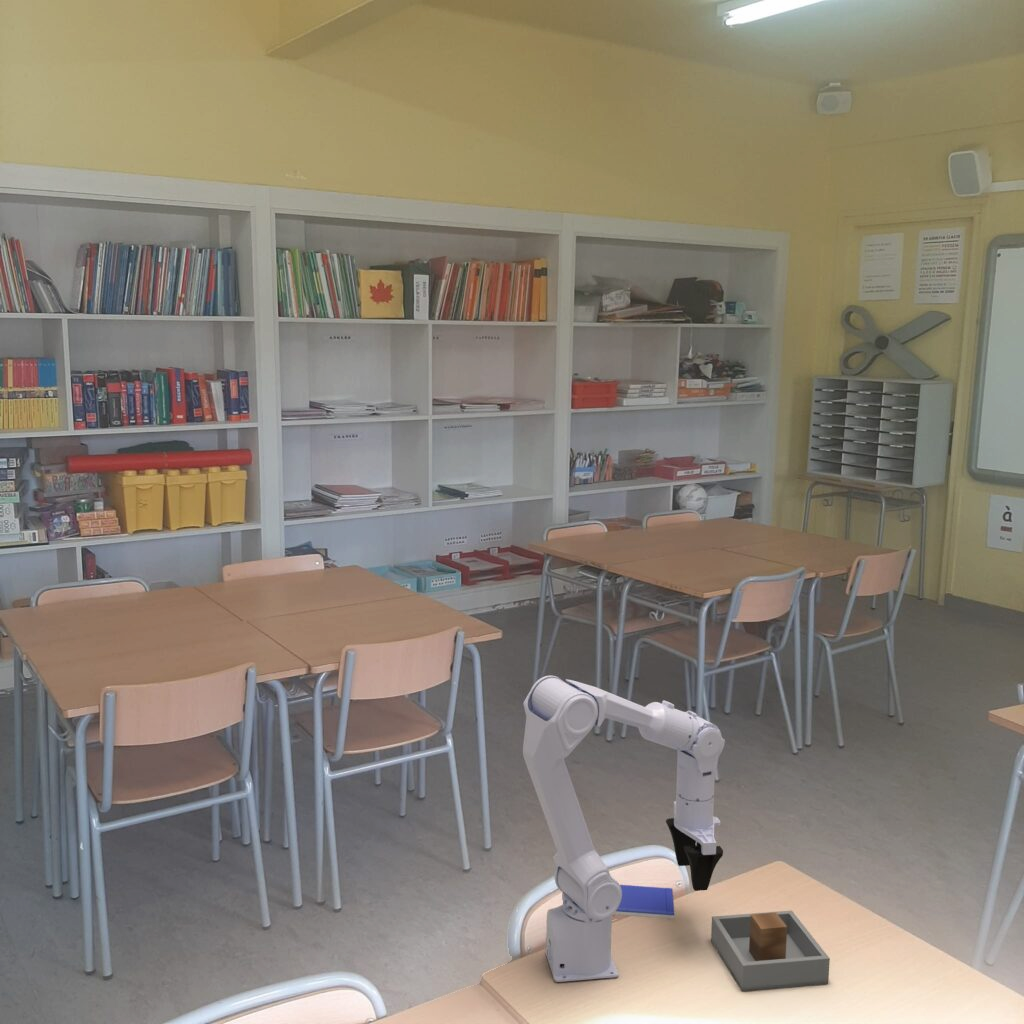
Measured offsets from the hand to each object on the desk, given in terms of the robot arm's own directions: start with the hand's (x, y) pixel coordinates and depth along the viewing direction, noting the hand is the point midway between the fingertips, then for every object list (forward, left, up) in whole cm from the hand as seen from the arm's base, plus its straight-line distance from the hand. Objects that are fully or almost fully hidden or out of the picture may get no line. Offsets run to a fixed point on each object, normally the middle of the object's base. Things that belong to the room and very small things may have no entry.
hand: (692, 876), depth 158 cm
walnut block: (+9, -9, -9) cm, 15 cm away
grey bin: (+9, -9, -9) cm, 16 cm away
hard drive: (-6, +10, -10) cm, 16 cm away
